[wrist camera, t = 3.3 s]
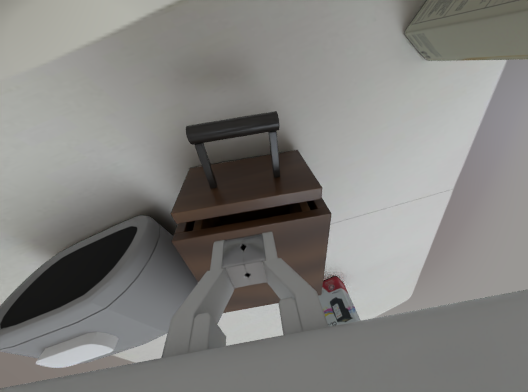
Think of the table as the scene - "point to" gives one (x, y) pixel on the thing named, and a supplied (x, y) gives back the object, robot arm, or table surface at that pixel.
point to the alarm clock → (98, 297)
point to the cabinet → (286, 243)
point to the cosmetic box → (471, 30)
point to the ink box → (337, 303)
